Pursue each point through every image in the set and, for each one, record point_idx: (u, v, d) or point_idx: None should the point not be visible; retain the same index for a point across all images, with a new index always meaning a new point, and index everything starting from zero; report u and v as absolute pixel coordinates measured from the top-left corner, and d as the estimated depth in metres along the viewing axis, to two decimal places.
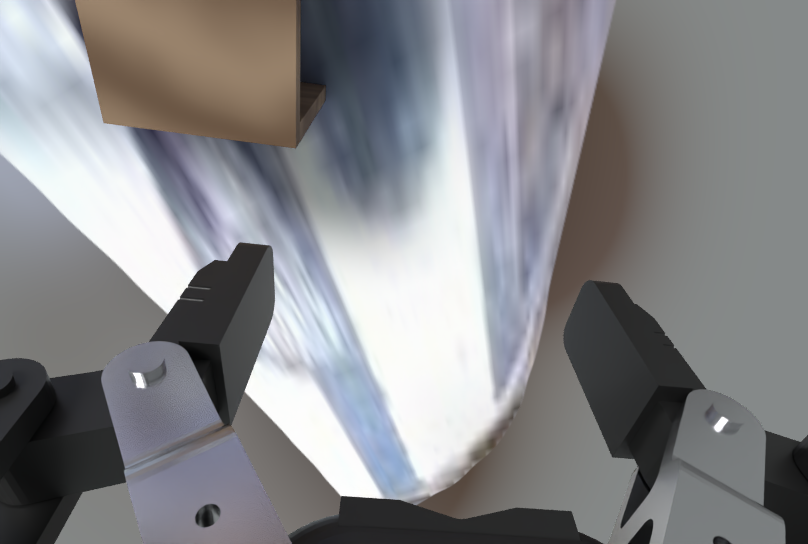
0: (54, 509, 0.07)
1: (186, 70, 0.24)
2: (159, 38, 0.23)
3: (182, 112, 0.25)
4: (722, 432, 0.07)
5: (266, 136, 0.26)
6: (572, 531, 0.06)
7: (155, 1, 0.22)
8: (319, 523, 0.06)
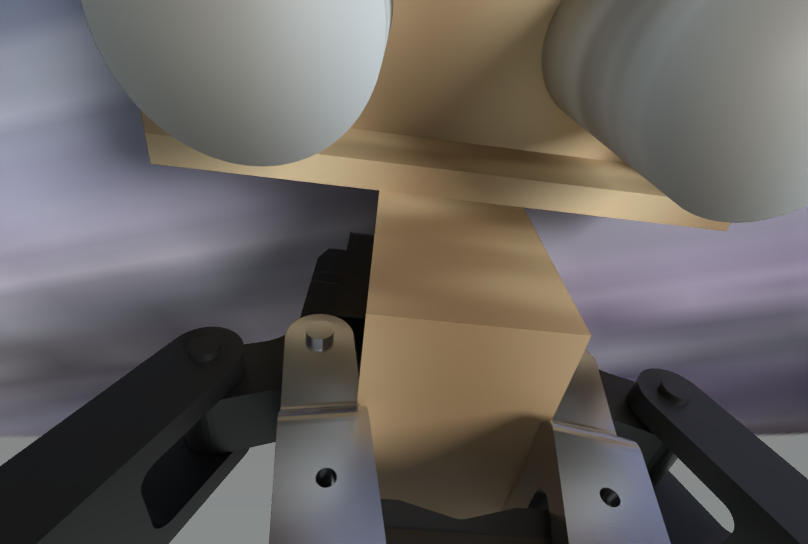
0: (217, 467, 0.08)
1: None
2: None
3: None
4: None
5: None
6: None
7: None
8: None
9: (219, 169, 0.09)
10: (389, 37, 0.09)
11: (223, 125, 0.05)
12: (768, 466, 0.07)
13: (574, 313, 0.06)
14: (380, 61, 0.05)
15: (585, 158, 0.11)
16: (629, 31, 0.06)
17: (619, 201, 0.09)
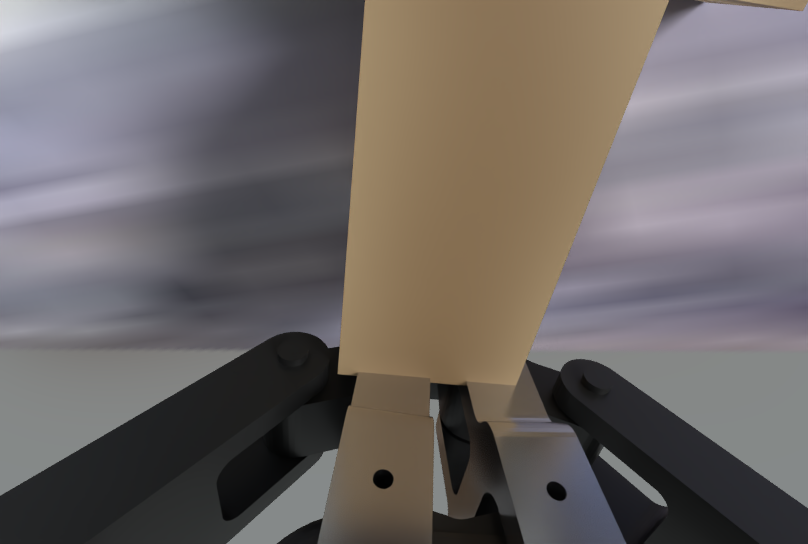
0: (288, 470, 0.08)
1: None
2: None
3: None
4: None
5: None
6: None
7: None
8: (319, 523, 0.06)
9: None
10: None
11: None
12: (689, 442, 0.07)
13: None
14: None
15: None
16: None
17: None
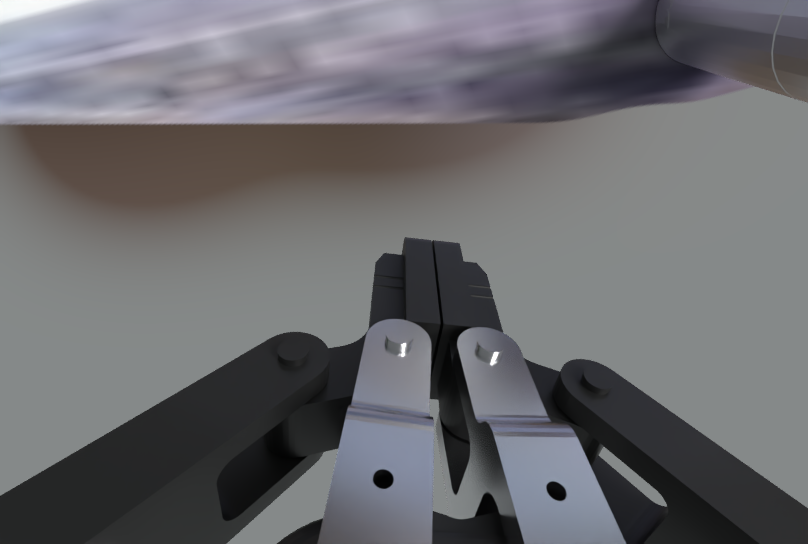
0: (288, 470, 0.08)
1: None
2: None
3: None
4: (478, 360, 0.08)
5: None
6: None
7: None
8: (319, 523, 0.06)
9: None
10: None
11: None
12: (689, 443, 0.07)
13: None
14: None
15: None
16: None
17: None
